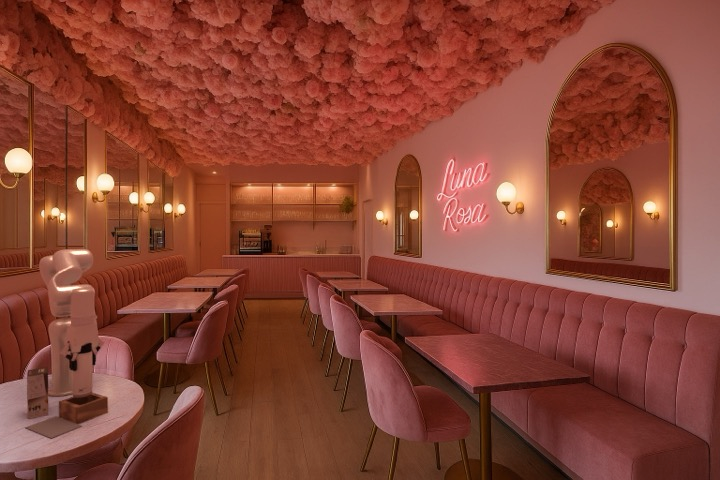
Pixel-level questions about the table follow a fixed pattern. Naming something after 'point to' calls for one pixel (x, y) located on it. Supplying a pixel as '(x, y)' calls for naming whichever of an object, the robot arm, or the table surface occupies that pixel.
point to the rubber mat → (53, 427)
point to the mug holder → (83, 408)
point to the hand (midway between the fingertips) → (82, 367)
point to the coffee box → (37, 392)
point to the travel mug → (83, 372)
